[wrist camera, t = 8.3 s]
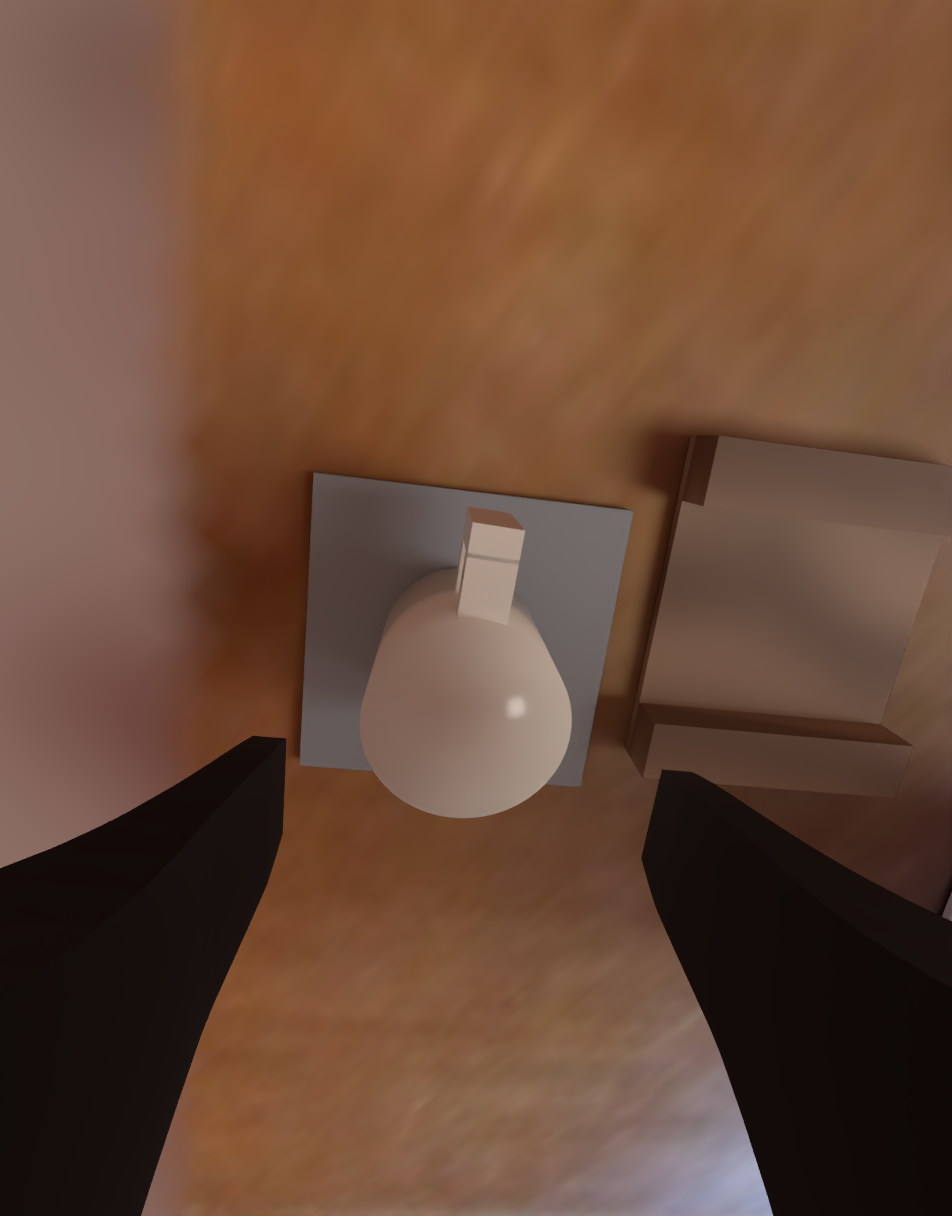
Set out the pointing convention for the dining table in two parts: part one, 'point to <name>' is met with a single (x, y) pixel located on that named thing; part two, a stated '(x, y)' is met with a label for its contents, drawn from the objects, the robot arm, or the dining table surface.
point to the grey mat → (428, 542)
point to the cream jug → (466, 685)
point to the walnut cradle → (787, 616)
